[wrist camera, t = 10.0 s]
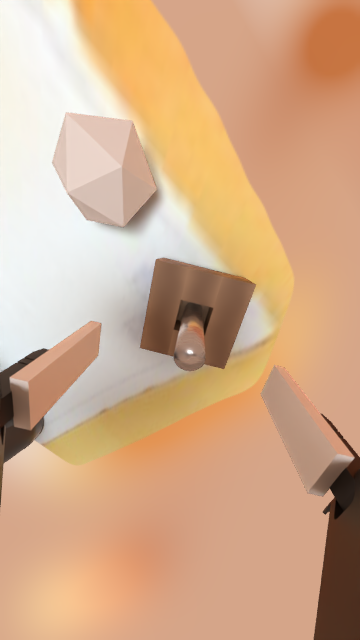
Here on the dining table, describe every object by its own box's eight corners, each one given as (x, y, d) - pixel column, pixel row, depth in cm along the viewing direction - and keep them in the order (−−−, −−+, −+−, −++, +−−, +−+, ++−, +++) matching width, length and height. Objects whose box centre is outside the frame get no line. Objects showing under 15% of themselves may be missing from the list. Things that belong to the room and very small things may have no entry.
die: (91, 132, 22) (5, 150, 16) (149, 87, 17) (54, 90, 11) (128, 212, 27) (73, 246, 21) (181, 195, 22) (127, 234, 16)
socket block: (149, 332, 29) (139, 347, 24) (163, 257, 25) (155, 259, 20) (219, 349, 29) (224, 369, 24) (245, 278, 25) (256, 284, 20)
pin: (182, 316, 26) (170, 366, 15) (186, 299, 25) (177, 339, 14) (199, 320, 26) (200, 374, 15) (204, 304, 25) (209, 347, 14)
